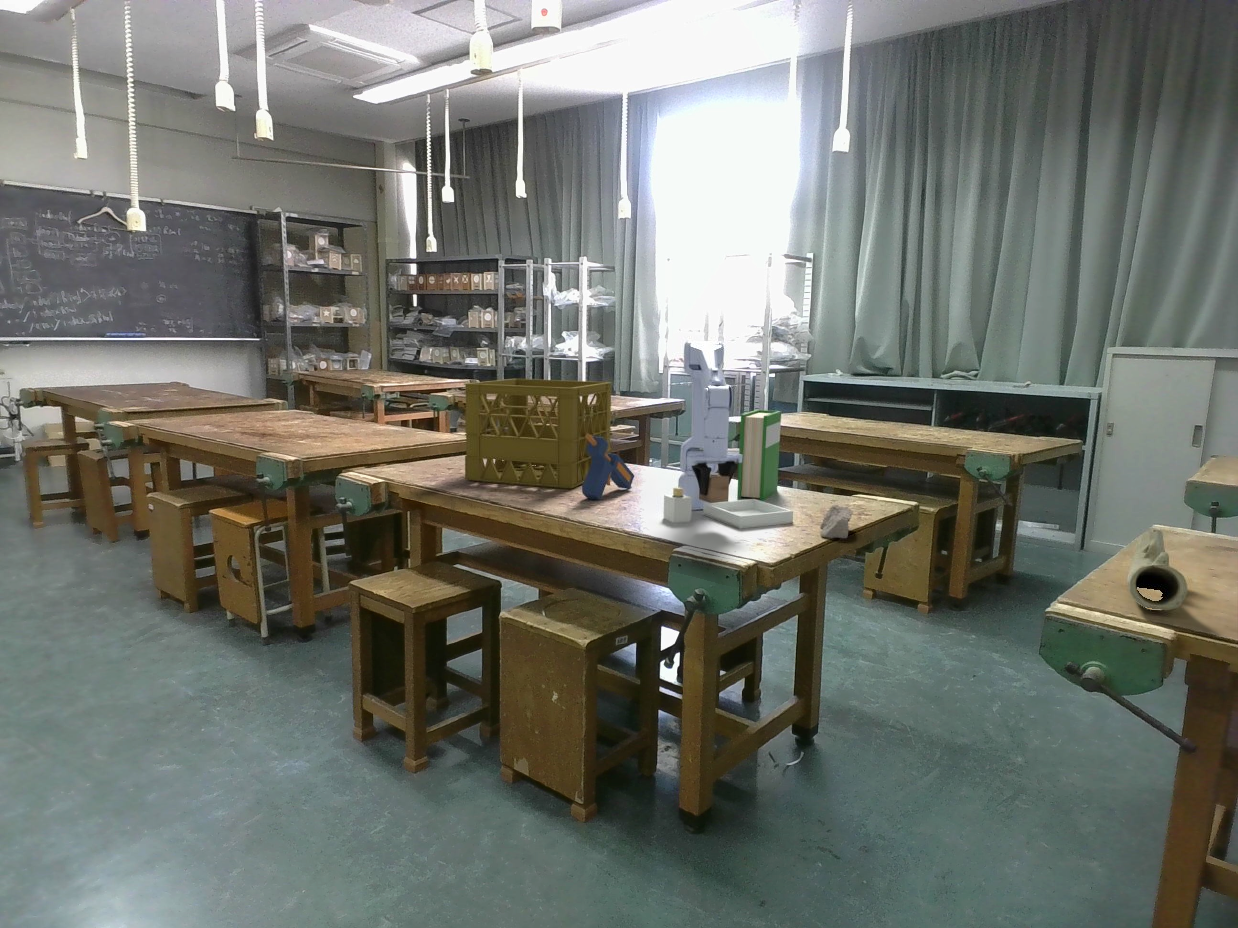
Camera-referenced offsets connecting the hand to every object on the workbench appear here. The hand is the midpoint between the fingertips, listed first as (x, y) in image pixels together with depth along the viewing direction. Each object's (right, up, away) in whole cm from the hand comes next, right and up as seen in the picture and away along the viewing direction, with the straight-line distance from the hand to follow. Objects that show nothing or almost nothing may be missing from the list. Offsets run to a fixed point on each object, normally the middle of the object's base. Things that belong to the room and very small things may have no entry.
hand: (713, 493), depth 188 cm
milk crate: (-48, +3, +67) cm, 82 cm away
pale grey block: (-8, -7, +10) cm, 14 cm away
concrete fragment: (+29, -10, 0) cm, 31 cm away
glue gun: (-25, -2, +40) cm, 47 cm away
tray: (+10, -7, +12) cm, 17 cm away
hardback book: (+18, -2, +44) cm, 48 cm away
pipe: (+74, -17, -42) cm, 87 cm away
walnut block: (0, -2, 0) cm, 2 cm away
